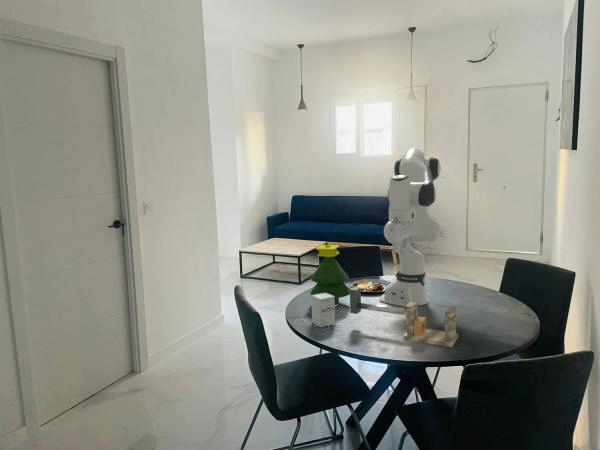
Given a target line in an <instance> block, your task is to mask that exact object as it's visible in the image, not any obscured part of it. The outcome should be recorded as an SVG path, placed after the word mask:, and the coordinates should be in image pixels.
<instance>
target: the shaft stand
mask: <svg viewBox="0 0 600 450" xmlns="http://www.w3.org/2000/svg"><path fill="white" fill-rule="evenodd" d="M405 308H406V309H405V313H406V314H405V316H406V319H405V320H406V321H405V322H406V323H405V324H406V327H405V328H406V332H405V333H404V334H403V340H406V339H408V341H413V342H417V343H425V344H430V345H435V346H436V345H437V346H441V347H442V346H443V347H448V348H453V346H454V345H455V343H456V342H457V340H458V339H459V333H457V307H455V306H448V307H447V308H446V310H445V311H444V330H436V329H431V328H426V331H425V332H424V334H423V335H422V336H419V335H414V320H415V319H416V318H417V317H419V315H418V314H419V313H418V302H410V303H409V304H408V305H407V306H406V307H405Z"/></svg>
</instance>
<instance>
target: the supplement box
mask: <svg viewBox="0 0 600 450" xmlns="http://www.w3.org/2000/svg"><path fill="white" fill-rule="evenodd" d="M310 295H311V294H310ZM310 299H311V300H310V301H311V323H312V322H313V323H314V324H316V325H318V326H319V327H324V326H328V325H332V326H334V325H333V324H335V325H336V313H335V312H336V309H335V308H336V307H335V300H334V296H332V295H330V294H328V293H321V294H316V295H311V296H310ZM314 324H313V325H314ZM316 325H315V326H316ZM319 327H318V328H319ZM328 327H329V326H328ZM324 328H325V327H324Z"/></svg>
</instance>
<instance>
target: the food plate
mask: <svg viewBox="0 0 600 450" xmlns="http://www.w3.org/2000/svg"><path fill="white" fill-rule="evenodd" d="M392 282H393V281H390V280H385V279H375V278H373V279H372V278H365V279H364V278H363V279H359V280H353V281H351V282H350V283H348V284H347V285H346V286H347V287H348V288H349V290H350V289H351V288H353V287H359V288H360V289H361V292H362V293H365V292H372V293H384V291H383V289H385V287H384V286H383V285H385V286H388V285H389V284H390V283H392ZM374 283H378V284H374ZM358 284H359V285H358ZM381 284H383V285H381ZM357 285H358V286H357ZM371 285H373V286H372V287H373V288H369V287H370V286H371ZM367 288H369V289H367ZM364 290H366V291H364Z"/></svg>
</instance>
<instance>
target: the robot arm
mask: <svg viewBox="0 0 600 450" xmlns="http://www.w3.org/2000/svg"><path fill="white" fill-rule="evenodd" d="M441 169H442V167H441V164H440V160H439V159H438V158H437V157H425V153H424V152H423V151H422V149H419V148H416V147H415V148H410V149H408V150H407V151H406V152H405V153H404V154H403V156H402V157H401V158H399V159H397V161H395V163H394V166H393V172H394V176H391V177H390V179H389V184H388V189H387V199H388V201H389V206H388V221H387V223H386V224H385V226H384V228H383V235H384V238H385V240H387V242H388V243H390V244H391V245H392V248H393V253H394V254H395V253H396V254H398V258H399V270H398V271H397V272H396V274H395V278H396V279H394V280H393V281H391V282H392V283H390V284H389V285H388V286H387V287H385V288H384V289H385V292H383V294H381V295H380V297H379V302H380V301H381V302H380V303H386V304H390V305H394V306H400V307H405V308H406V306H407V305H408V304H409V303H410V302H418V306H419V307H420V306H423V305H426V304H428V303H429V299H428V296H427V291H426V290H427V289H426V282H427V281H426V280H427V279H426V277H427V276H426V272H425V257H424V255H423V253H421V252H420V251H419V250H417V249H414V248H413V247H412V244H415V245H416V244H417V245H419V244H420V245H426V244H428V245H429V244H432V243H437V242H438V241H439V239H440V238H441V235H442V229H441V226H440V224H439V223H438V221H436V220H434V219H432V218H431V217H430V215H429V212H428V207H430V206H431V205H434V203H435V201H436V199H437V190H436V186H435V185H434V181H435V180H437V179H438V178H439V175H440V173H441Z"/></svg>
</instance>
